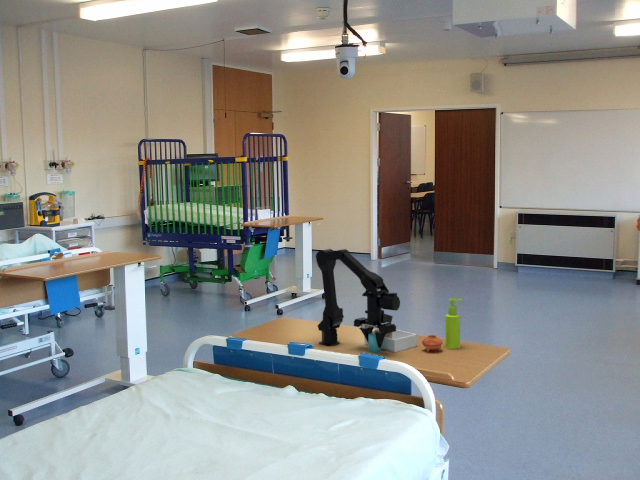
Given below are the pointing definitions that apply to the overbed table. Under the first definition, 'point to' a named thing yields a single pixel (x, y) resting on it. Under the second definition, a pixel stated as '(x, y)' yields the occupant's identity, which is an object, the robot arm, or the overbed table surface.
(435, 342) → the pot
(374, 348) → the teal cylinder
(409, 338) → the tote
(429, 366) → the overbed table surface
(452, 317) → the soap dispenser
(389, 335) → the walnut cube
